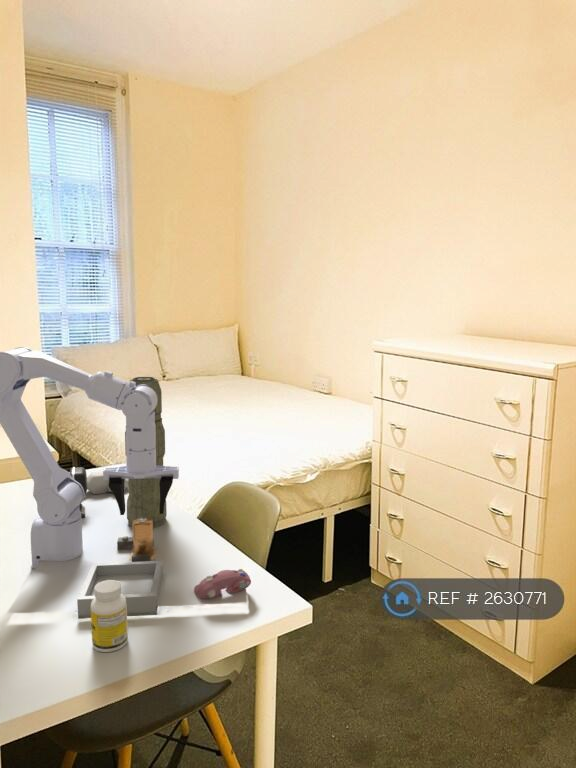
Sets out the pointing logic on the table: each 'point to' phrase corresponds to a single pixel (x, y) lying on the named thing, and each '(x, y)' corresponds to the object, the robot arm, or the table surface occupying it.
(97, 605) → the supplement bottle
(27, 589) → the table surface
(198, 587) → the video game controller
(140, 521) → the cell
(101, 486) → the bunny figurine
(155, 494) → the thermos
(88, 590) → the tray
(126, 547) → the brown stand base
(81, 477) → the battery charger
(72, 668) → the table surface
